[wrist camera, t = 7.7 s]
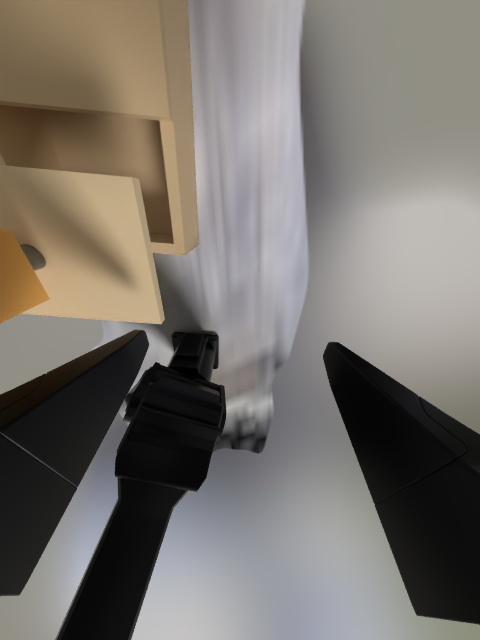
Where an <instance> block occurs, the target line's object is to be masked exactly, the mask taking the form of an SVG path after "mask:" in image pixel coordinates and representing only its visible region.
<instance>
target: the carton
mask: <svg viewBox="0 0 480 640" xmlns="http://www.w3.org/2000/svg"><path fill="white" fill-rule="evenodd" d="M0 165H5V166H16V167H26V168H37V169H48V170H59V171H69V172H80V173H91V174H102V175H112V176H123V177H132V178H137V179H139V181H140V187H141V192H142V198H143V203H144V209H145V214H146V219H147V225H148V230H149V236H150V241H151V246H152V252H153V253H162V254H174V255H186V254H188V253H189V252H190V251H191V250H192V249H194V248H195V247H196V246H197V245H198V244H199V237H198V216H197V194H196V173H195V152H194V131H193V109H192V88H191V67H190V46H189V24H188V3H187V0H0Z"/></svg>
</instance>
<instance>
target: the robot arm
mask: <svg viewBox="0 0 480 640" xmlns="http://www.w3.org/2000/svg"><path fill="white" fill-rule="evenodd" d="M175 335H176V336H175ZM214 338H216V339H214ZM172 341H173V347H174V354H173V356H172V358H171V360H170V362H169V365H168V367H166V366H163V365H160V363H157V362H155V364H154V365H153V367H150V368H149V369H148V370H145V372H144V374H143V375H142V377H141V379H140V380H139V382H138V383H137V384H136V385H135V386H134V388H133V389H132V390H131V391H130V392H129V390H130V388H131V386H132V384H133V382H134V381H135V379H136V377H137V375H138V372H139V370H140V368H141V365H142V362H143V360H144V357H145V355H146V352H147V350H148V347H149V342H148V339H147V335H146V332H145V331H144V330H133V331H131V332H129V333H127V334H125V335H123V336H121V337H119V338H117V339H115V340H113V341H111V342H109V343H107V344H105V345H103V346H101V347H98V348H96V349H94V350H92V351H90V352H88V353H86V354H84V355H82V356H80V357H78V358H76V359H74V360H72V361H70V362H68V363H66V364H64V365H62V366H60V367H58V368H56V369H53V370H52V371H49V372H47V374H43V375H41V376H39V377H37V378H35V379H33V380H31V381H29V382H27V383H25V384H22V385H20V386H18V387H16V388H14V389H12V390H10V391H8V392H5V393H3V394H1V395H0V596H18V595H20V593H21V592H22V590H23V588H24V587H25V585H26V583H27V582H28V580H29V578H30V576H31V574H32V572H33V570H34V568H35V567H36V565H37V563H38V561H39V559H40V557H41V555H42V553H43V551H44V550H45V548H46V546H47V544H48V542H49V540H50V538H51V537H52V535H53V533H54V531H55V529H56V527H57V525H58V523H59V521H60V519H61V518H62V516H63V514H64V512H65V510H66V508H67V506H68V505H69V503H70V501H71V499H72V497H73V495H74V493H75V492H76V490H77V488H76V487H78V486H79V484H80V482H81V480H82V478H83V476H84V474H85V472H86V471H87V469H88V467H89V465H90V463H91V461H92V459H93V457H94V456H95V454H96V452H97V450H98V448H99V446H100V444H101V442H102V441H103V439H104V437H105V435H106V433H107V431H108V429H109V427H110V425H111V424H112V422H113V420H114V418H115V416H116V414H117V412H118V411H119V409H120V407H121V405H122V403H123V401H124V399H125V402H126V405H127V408H126V410H125V412H126V414H125V416H124V419H123V421H127V422H130V424H129V426H128V428H127V430H126V433H125V434H124V436H123V438H122V441H121V443H120V445H119V447H118V449H117V457H116V461H115V476H116V477H118V499H117V501H116V503H115V506H114V508H113V510H112V513H111V515H110V517H109V519H108V521H107V524H106V526H105V528H104V530H103V533H102V535H101V537H100V540H99V542H98V544H97V547H96V549H95V551H94V553H93V556H92V558H91V560H90V562H89V564H88V567H87V569H86V571H85V573H84V576H83V578H82V580H81V582H80V585H79V587H78V589H77V591H76V594H75V596H74V598H73V600H72V603H71V605H70V607H69V610H68V612H67V614H66V616H65V618H64V621H63V623H62V625H61V628H60V630H59V632H58V634H57V637H56V639H55V640H131V638H132V635H133V632H134V629H135V625H136V622H137V619H138V616H139V613H140V610H141V606H142V603H143V600H144V597H145V594H146V591H147V588H148V584H149V582H150V579H151V575H152V572H153V569H154V566H155V563H156V560H157V557H158V553H159V550H160V547H161V544H162V541H163V538H164V535H165V532H166V529H167V525H168V522H169V519H170V516H171V513H172V511H173V508H174V507H175V506H176V505H177V503H178V502H179V501H180V500H181V499H182V498H183V496H184V495H185V494H186V493H187V491H189V490H190V491H195V492H196V491H197V490H198V489H199V488H200V486H201V485H202V483H203V482H204V480H205V479H206V476H207V472H208V468H209V463H210V459H211V455H212V451H213V448H214V445H215V444H216V443H217V442H218V440H219V438H220V436H221V434H222V431H223V428H224V425H225V420H226V401H225V389H224V386H223V385H217V384H214V383H212V382H210V380H211V375H212V370H213V369H217V368H218V358H219V337H218V336H217V335H209V334H196V333H183V332H174V333H173V334H172ZM323 360H324V363H325V367H326V371H327V375H328V379H329V383H330V387H331V390H332V392H333V395H334V397H335V400H336V403H337V406H338V408H339V411H340V414H341V416H342V419H343V422H344V424H345V427H346V430H347V432H348V435H349V438H350V440H351V443H352V446H353V448H354V451H355V454H356V456H357V459H358V462H359V464H360V467H361V470H362V472H363V475H364V477H365V480H366V483H367V486H368V488H369V491H370V494H371V496H372V499H373V502H374V504H375V507H376V510H377V513H378V515H379V518H380V520H381V523H382V526H383V529H384V532H385V534H386V537H387V540H388V542H389V544H390V548H391V550H392V553H393V555H394V558H395V561H396V564H397V566H398V569H399V572H400V574H401V577H402V580H403V582H404V585H405V588H406V590H407V593H408V595H409V598H410V601H411V603H412V606H413V608H414V610H415V613H416V615H417V616H421V617H429V618H436V619H444V620H452V621H459V622H466V623H474V624H479V625H480V434H478V433H477V432H475V431H473V430H472V429H470V428H468V427H467V426H465V425H463V424H462V423H460V422H459V421H457V420H455V419H454V418H452V417H451V416H449V415H447V414H446V413H444V412H443V411H441V410H440V409H438V408H437V407H435V406H433V405H432V404H430V403H429V402H427V401H426V400H424V399H423V398H421V397H418V395H416V394H415V393H414V392H412V391H411V390H409V389H408V388H406V387H405V386H403V385H402V384H400V383H399V382H397V381H396V380H394V379H393V378H391V377H390V376H388V375H387V374H385V373H384V372H382V371H381V370H379V369H378V368H376V367H374V366H373V365H372V364H370V363H369V362H367V361H366V360H364V359H363V358H361V357H360V356H358V355H357V354H355V353H354V352H352V351H351V350H349V349H348V348H346V347H345V346H343V345H342V344H340V343H338V342H329V343H328V344H327V347H326V349H325V351H324V354H323ZM128 392H129V393H128ZM125 397H126V398H125Z"/></svg>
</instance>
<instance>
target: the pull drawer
mask: <svg viewBox="0 0 480 640" xmlns="http://www.w3.org/2000/svg"><path fill="white" fill-rule="evenodd" d="M20 313H22V314H35V315H48V316H61V317H73V318H86V319H99V320H112V321H125V322H138V323H151V324H162V323H163V321H164V320H165V317H164V311H163V306H162V301H161V295H160V290H159V284H158V279H157V274H156V268H155V263H154V257H153V252H152V246H151V241H150V236H149V230H148V225H147V219H146V214H145V209H144V203H143V198H142V192H141V187H140V181H139V179H137V178H132V177H123V176H112V175H102V174H91V173H80V172H69V171H59V170H48V169H37V168H26V167H16V166H5V165H0V323H1V322H4V321H5V320H8V319H10V318H12V317H14V316H16V315H18V314H20Z"/></svg>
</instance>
